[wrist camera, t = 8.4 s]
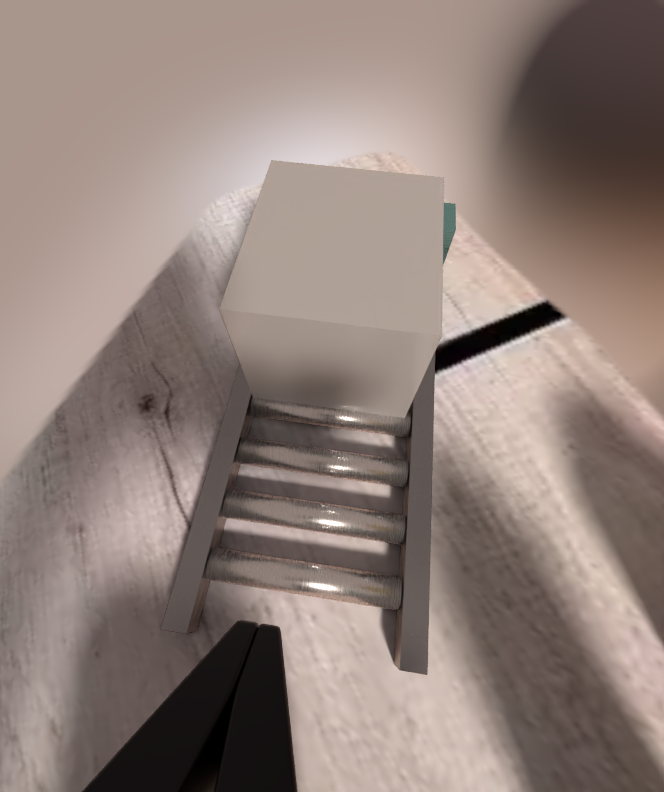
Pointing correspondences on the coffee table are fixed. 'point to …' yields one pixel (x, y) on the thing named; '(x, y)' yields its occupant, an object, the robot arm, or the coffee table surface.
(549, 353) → the coffee table surface
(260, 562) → the roller bed
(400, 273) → the off-white matte cube
